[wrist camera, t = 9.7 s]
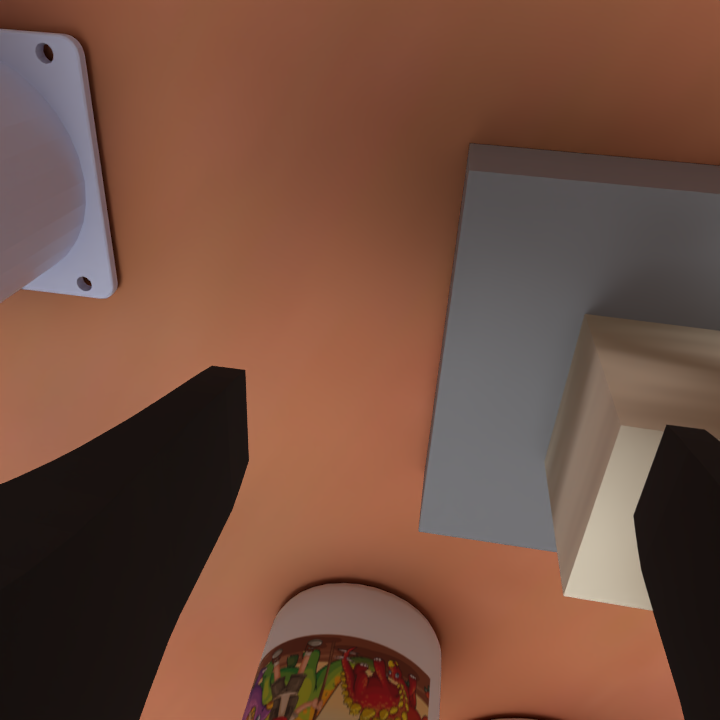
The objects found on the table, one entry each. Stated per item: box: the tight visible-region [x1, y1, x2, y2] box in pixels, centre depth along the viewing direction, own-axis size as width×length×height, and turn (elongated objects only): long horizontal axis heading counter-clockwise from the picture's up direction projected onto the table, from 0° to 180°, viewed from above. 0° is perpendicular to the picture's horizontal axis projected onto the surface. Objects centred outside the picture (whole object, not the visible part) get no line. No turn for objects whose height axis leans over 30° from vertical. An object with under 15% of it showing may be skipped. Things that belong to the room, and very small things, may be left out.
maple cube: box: [544, 314, 720, 611], centre depth 16 cm, size 5×5×5 cm
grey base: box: [419, 143, 720, 552], centre depth 20 cm, size 12×12×3 cm
